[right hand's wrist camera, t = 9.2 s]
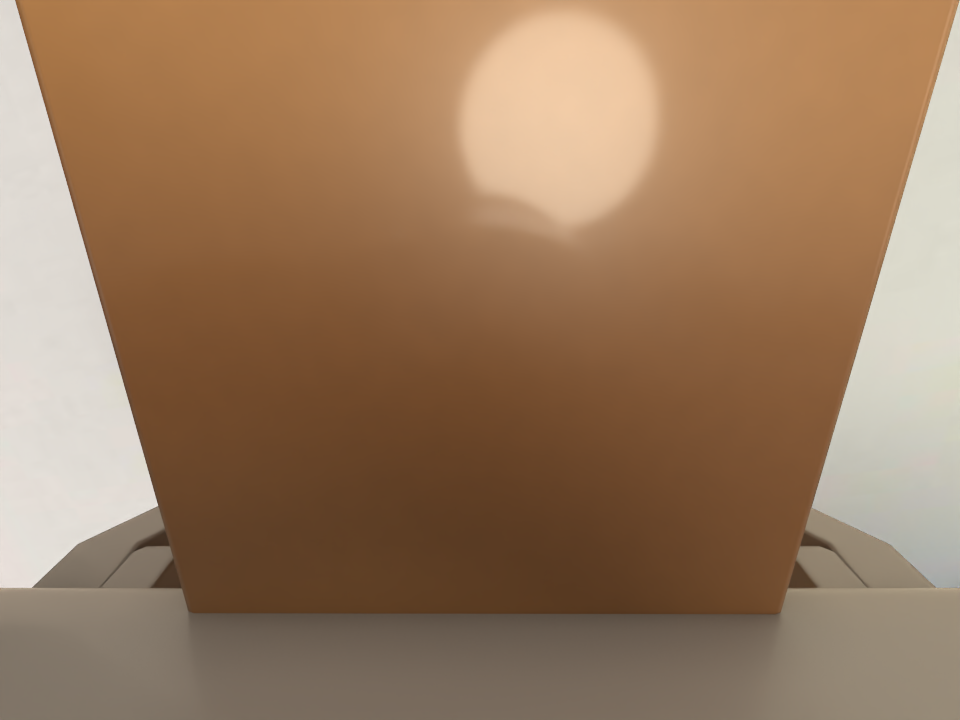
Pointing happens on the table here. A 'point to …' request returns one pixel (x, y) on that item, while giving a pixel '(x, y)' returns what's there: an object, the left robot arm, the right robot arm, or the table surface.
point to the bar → (486, 283)
